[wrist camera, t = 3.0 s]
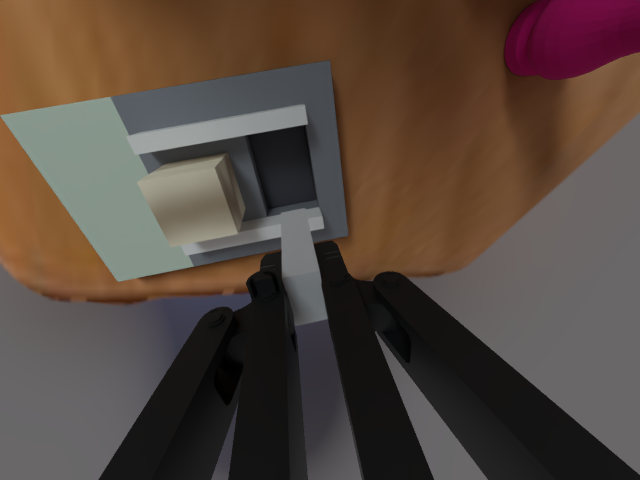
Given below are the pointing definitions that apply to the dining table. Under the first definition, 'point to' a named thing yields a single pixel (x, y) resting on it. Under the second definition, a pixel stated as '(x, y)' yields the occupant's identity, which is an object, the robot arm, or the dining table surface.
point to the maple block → (195, 199)
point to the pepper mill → (572, 37)
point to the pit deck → (188, 143)
